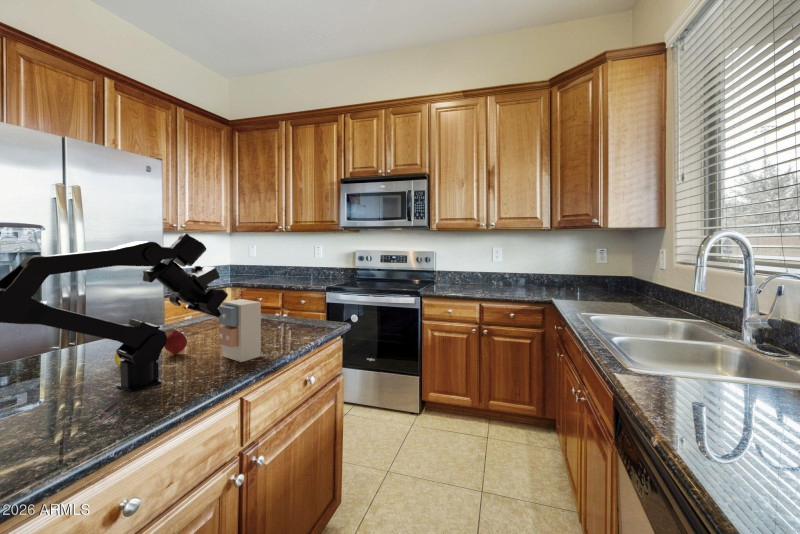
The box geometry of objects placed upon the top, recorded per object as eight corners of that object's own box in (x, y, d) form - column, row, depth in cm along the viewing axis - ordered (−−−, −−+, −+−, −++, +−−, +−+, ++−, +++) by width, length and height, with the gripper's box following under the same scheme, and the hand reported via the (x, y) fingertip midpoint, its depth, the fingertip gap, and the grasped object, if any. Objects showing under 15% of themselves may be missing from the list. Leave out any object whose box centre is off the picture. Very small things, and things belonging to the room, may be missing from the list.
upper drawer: (230, 326, 101) (230, 308, 101) (217, 323, 104) (217, 306, 104) (239, 324, 104) (239, 307, 103) (226, 321, 107) (226, 305, 106)
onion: (191, 352, 111) (191, 326, 110) (178, 358, 105) (177, 331, 104) (173, 351, 111) (173, 325, 111) (159, 357, 105) (159, 330, 105)
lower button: (230, 347, 102) (230, 329, 101) (217, 343, 105) (217, 326, 104) (239, 345, 104) (239, 328, 104) (226, 341, 107) (226, 325, 107)
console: (241, 362, 103) (241, 305, 102) (222, 356, 108) (221, 301, 107) (260, 356, 109) (260, 302, 107) (241, 351, 113) (241, 299, 112)
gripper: (220, 258, 91) (258, 296, 101) (179, 255, 100) (218, 290, 111) (188, 293, 85) (232, 329, 95) (149, 286, 94) (193, 320, 105)
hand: (219, 315), depth 101 cm, fingers closed
